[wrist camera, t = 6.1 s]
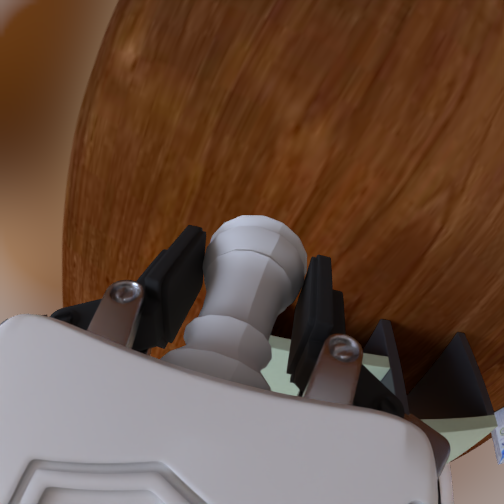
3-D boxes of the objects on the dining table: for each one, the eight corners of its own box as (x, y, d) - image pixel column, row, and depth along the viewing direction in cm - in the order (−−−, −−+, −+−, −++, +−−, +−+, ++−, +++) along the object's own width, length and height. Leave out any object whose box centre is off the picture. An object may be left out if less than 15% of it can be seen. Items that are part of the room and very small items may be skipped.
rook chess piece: (238, 190, 12) (141, 330, 5) (327, 245, 12) (328, 418, 6) (197, 264, 14) (116, 400, 8) (274, 308, 15) (240, 457, 8)
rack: (266, 294, 23) (236, 414, 14) (464, 332, 22) (498, 426, 12) (245, 378, 29) (221, 468, 20) (407, 401, 28) (416, 481, 18)
